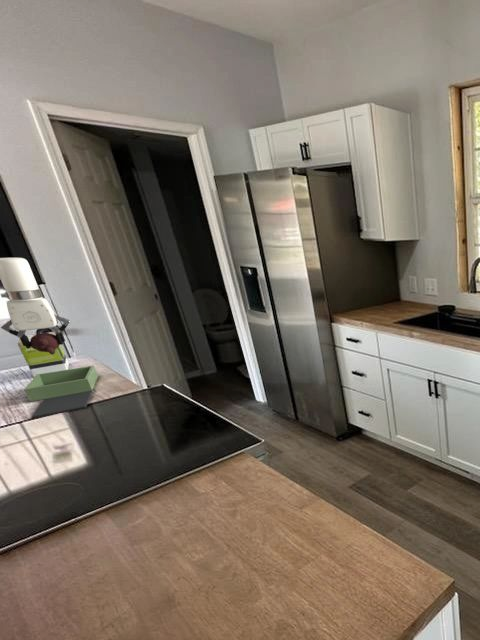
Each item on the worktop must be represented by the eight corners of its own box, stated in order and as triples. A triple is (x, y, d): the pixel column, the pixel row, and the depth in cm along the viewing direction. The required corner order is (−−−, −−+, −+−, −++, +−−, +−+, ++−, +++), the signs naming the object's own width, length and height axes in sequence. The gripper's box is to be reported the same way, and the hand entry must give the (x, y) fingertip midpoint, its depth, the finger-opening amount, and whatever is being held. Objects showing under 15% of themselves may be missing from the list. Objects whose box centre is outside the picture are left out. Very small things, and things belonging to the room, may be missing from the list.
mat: (32, 418, 128) (31, 416, 128) (44, 400, 141) (43, 399, 141) (85, 407, 135) (84, 406, 135) (92, 391, 148) (91, 390, 148)
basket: (29, 401, 141) (24, 389, 139) (41, 385, 155) (36, 374, 153) (92, 390, 150) (87, 378, 148) (98, 376, 164) (93, 365, 162)
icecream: (21, 333, 146) (25, 344, 137) (49, 324, 150) (53, 334, 142) (36, 349, 150) (41, 361, 141) (62, 341, 154) (68, 351, 146)
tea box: (36, 369, 173) (20, 335, 167) (69, 363, 179) (55, 330, 174) (33, 378, 163) (16, 342, 157) (69, 372, 169) (53, 337, 164)
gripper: (-18, 299, 132) (6, 352, 138) (59, 294, 142) (78, 343, 148) (-11, 296, 137) (12, 347, 144) (63, 292, 147) (81, 339, 154)
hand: (45, 345), depth 146 cm, fingers closed on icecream, 7 cm apart
